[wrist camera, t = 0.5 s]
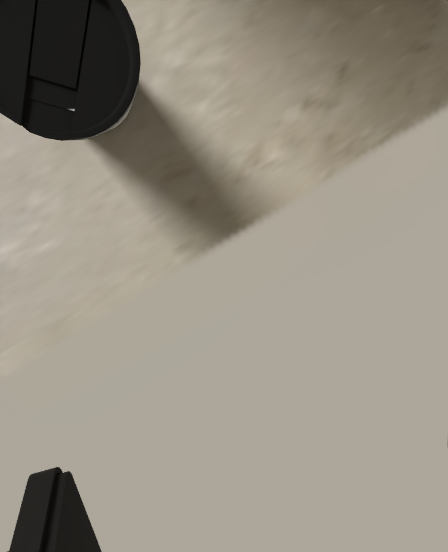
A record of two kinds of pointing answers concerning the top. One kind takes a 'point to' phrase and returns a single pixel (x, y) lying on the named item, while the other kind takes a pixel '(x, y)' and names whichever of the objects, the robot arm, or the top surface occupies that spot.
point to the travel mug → (67, 66)
